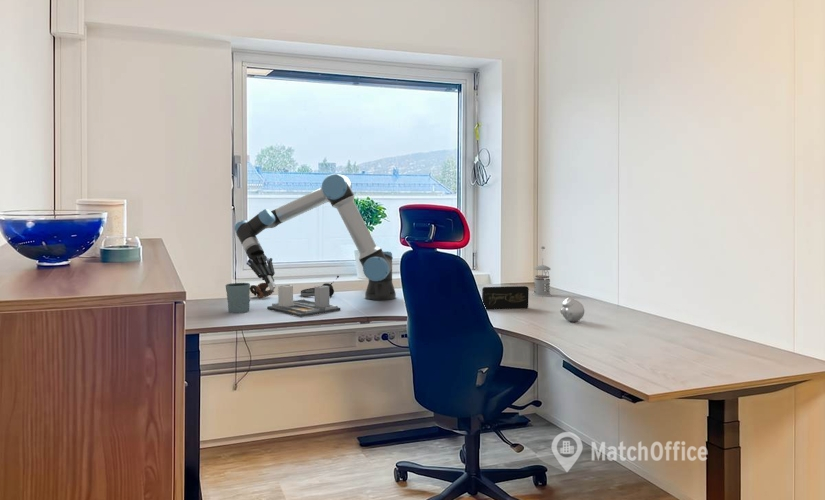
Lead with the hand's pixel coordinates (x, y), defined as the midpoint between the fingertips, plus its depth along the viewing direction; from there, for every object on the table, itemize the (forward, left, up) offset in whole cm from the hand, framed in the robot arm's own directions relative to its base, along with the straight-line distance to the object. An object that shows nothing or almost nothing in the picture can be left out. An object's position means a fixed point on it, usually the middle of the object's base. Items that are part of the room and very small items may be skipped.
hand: (273, 288), depth 269 cm
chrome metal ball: (-117, +57, -9) cm, 130 cm away
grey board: (-13, +10, -8) cm, 18 cm away
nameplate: (-101, +25, -9) cm, 105 cm away
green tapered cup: (+15, +9, -9) cm, 19 cm away
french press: (-134, -8, -9) cm, 135 cm away
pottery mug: (+6, -28, -9) cm, 30 cm away
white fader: (-5, +7, -7) cm, 11 cm away
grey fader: (-21, +12, -7) cm, 25 cm away
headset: (-22, -30, -9) cm, 38 cm away
